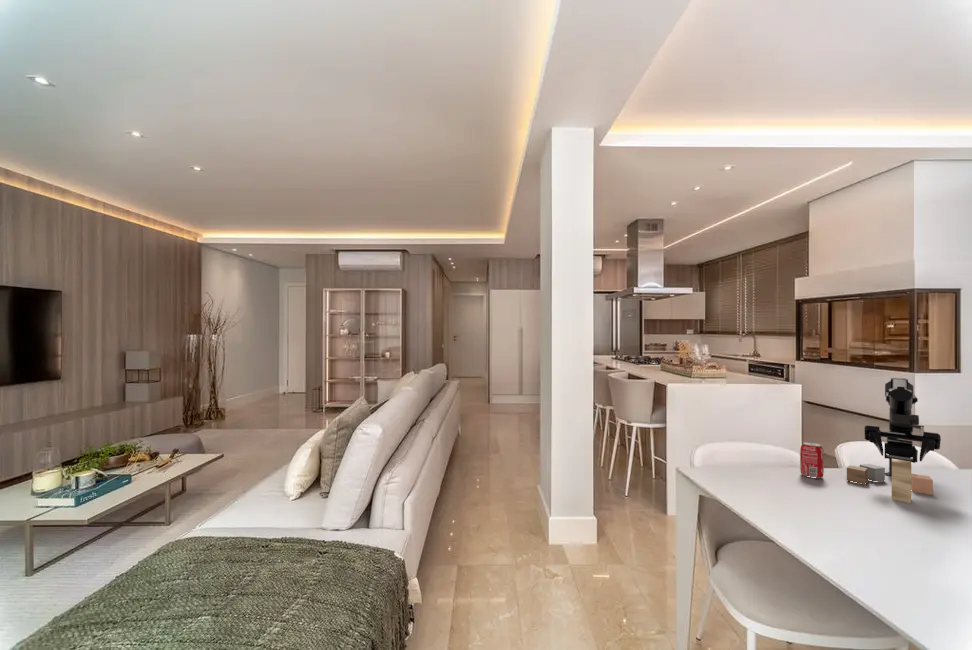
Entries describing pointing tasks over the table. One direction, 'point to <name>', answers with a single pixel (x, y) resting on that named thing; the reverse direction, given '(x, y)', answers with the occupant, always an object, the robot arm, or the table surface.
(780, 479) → the table surface
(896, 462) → the tall oak block
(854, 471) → the walnut block
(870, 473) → the slate grey block
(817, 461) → the soda can
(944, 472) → the table surface
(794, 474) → the table surface
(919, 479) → the terracotta block
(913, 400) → the robot arm
